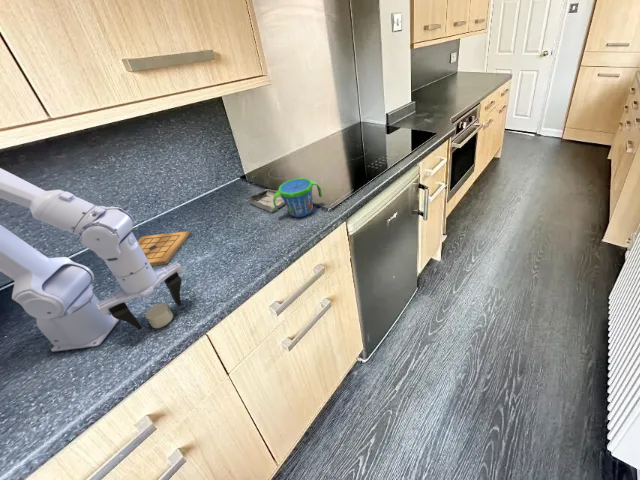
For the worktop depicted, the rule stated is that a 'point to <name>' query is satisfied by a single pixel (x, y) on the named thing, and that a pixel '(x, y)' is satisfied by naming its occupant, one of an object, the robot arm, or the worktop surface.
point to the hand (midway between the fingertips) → (159, 314)
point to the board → (161, 246)
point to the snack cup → (297, 196)
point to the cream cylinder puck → (159, 315)
